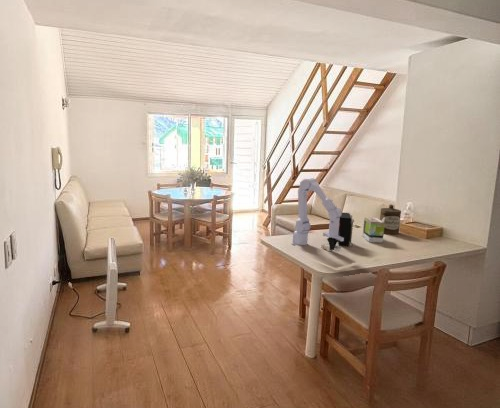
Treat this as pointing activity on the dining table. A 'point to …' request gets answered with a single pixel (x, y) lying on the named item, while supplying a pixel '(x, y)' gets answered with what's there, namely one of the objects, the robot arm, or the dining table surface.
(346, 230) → the electrical component
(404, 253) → the dining table surface
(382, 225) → the tea box
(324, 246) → the heatsink
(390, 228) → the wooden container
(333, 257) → the dining table surface
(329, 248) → the white stepped block
